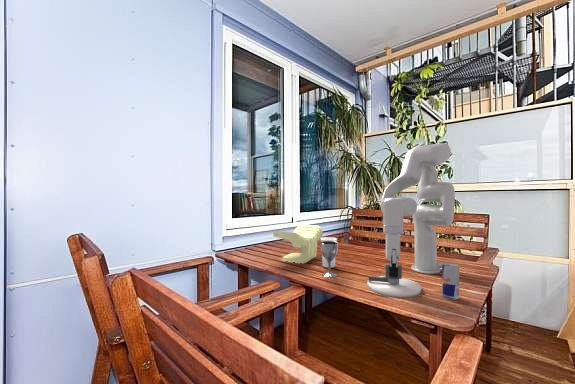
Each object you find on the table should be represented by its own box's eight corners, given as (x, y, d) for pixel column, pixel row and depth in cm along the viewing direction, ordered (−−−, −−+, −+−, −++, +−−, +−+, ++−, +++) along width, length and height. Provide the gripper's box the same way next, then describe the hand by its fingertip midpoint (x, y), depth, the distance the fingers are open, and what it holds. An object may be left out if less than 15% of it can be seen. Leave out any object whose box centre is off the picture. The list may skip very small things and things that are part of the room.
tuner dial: (411, 280, 120) (411, 276, 120) (429, 298, 100) (429, 293, 100) (364, 278, 123) (364, 274, 123) (371, 296, 103) (371, 291, 103)
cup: (340, 267, 141) (340, 238, 141) (328, 269, 137) (328, 240, 137) (329, 263, 148) (329, 236, 148) (317, 266, 143) (317, 238, 143)
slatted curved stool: (300, 268, 139) (300, 232, 139) (273, 264, 147) (273, 230, 147) (322, 255, 166) (322, 225, 166) (298, 252, 173) (298, 224, 173)
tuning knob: (401, 281, 113) (400, 264, 112) (402, 284, 108) (401, 267, 108) (368, 278, 116) (368, 261, 116) (368, 282, 112) (368, 264, 112)
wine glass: (334, 278, 123) (333, 244, 123) (317, 275, 127) (317, 243, 127) (340, 274, 130) (340, 241, 130) (325, 271, 134) (324, 240, 134)
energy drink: (438, 294, 104) (438, 262, 103) (452, 294, 104) (452, 262, 104) (448, 300, 98) (448, 266, 98) (462, 299, 99) (462, 266, 99)
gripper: (382, 226, 120) (382, 269, 120) (383, 232, 105) (384, 281, 105) (401, 227, 118) (401, 270, 118) (405, 233, 102) (405, 283, 103)
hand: (393, 275), depth 111 cm, fingers closed on tuning knob, 2 cm apart
